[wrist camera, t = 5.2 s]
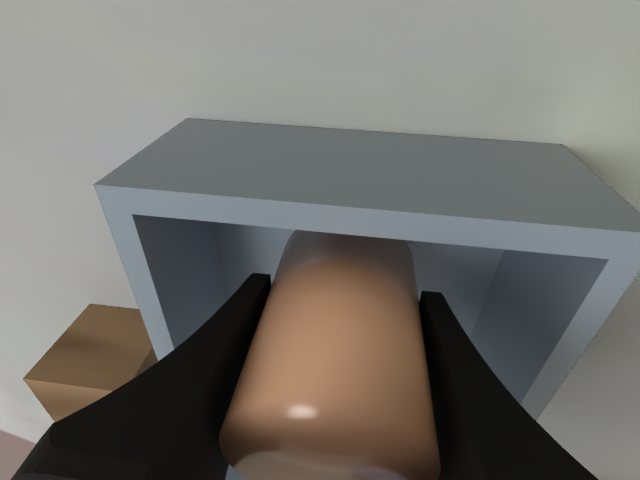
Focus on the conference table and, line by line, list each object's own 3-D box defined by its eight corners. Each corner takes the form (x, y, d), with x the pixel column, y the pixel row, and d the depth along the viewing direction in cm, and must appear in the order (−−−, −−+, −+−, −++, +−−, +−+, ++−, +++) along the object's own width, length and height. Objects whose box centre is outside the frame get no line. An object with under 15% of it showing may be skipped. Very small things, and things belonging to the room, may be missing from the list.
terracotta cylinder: (400, 322, 15) (414, 522, 10) (282, 306, 16) (228, 490, 10) (427, 220, 12) (470, 421, 7) (282, 204, 13) (205, 382, 7)
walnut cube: (189, 366, 24) (150, 446, 20) (116, 357, 24) (63, 433, 20) (173, 312, 21) (124, 392, 17) (90, 302, 21) (22, 378, 17)
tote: (446, 416, 23) (463, 524, 18) (235, 388, 24) (202, 482, 20) (562, 144, 13) (664, 235, 8) (186, 118, 14) (93, 184, 9)
